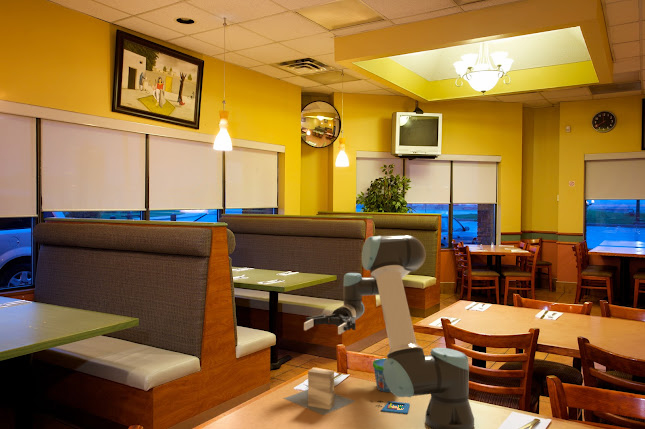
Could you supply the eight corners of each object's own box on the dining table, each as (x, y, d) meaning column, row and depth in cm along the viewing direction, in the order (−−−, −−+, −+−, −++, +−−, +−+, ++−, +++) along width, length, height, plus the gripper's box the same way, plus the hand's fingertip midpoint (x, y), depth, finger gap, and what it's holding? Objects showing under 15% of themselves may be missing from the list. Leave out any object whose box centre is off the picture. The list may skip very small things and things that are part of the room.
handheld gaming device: (367, 398, 180) (409, 402, 176) (367, 401, 180) (409, 405, 176) (363, 407, 172) (407, 412, 168) (363, 410, 172) (407, 415, 168)
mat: (355, 402, 178) (355, 401, 178) (323, 416, 166) (323, 415, 166) (315, 388, 192) (315, 386, 192) (283, 400, 180) (283, 398, 180)
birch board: (313, 401, 178) (313, 367, 177) (334, 405, 174) (334, 370, 174) (308, 405, 174) (308, 371, 174) (329, 409, 171) (329, 374, 170)
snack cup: (370, 381, 198) (370, 356, 198) (397, 381, 198) (397, 355, 198) (375, 397, 182) (375, 369, 182) (404, 397, 183) (404, 369, 182)
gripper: (373, 328, 198) (353, 342, 179) (315, 322, 208) (291, 334, 189) (373, 309, 198) (353, 321, 178) (315, 303, 208) (291, 315, 189)
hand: (321, 328), depth 184 cm, fingers open, 13 cm apart
